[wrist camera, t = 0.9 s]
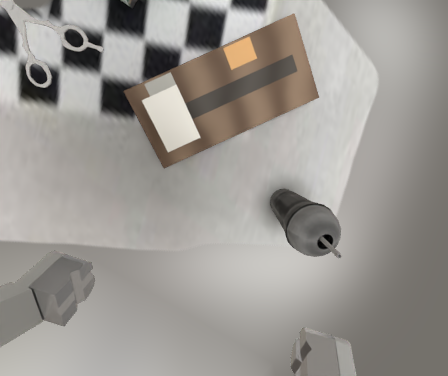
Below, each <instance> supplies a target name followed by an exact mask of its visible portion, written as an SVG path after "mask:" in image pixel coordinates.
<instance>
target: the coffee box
mask: <svg viewBox="0 0 448 376" xmlns="http://www.w3.org/2000/svg"><path fill="white" fill-rule="evenodd" d="M121 1H122V2H124V3H125V4H126V5H128V6H129V7H131V8H133V7H134V5H135V3H136V2H137V0H121Z"/></svg>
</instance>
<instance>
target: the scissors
mask: <svg viewBox="0 0 448 376" xmlns="http://www.w3.org/2000/svg"><path fill="white" fill-rule="evenodd" d="M0 5H1V6H2V7H3V8H4V9H6V11H7V12H8V14H9V16H10V17H11V19H12V20H13V22H14V23H15V25H16V26H17V28H18V30H19V32H20V33H21V35H22V38H23V44H22V46H23V48H24V49H25V50H26V52H27V53H28V61H27V64H26V72H27V76H28V78H29V80H30V81H31V82H32V83H33V84H34V85H36V86H38V87H42V88H46V87H48V86H49V85H50V84H51V81H52V75H51V72H50V69H49V67H48V66H47V64H46V63H44V62H42V61H39V60H37V59H35V57H34V55H33V54H32V53H31V51H30V50H29V46H28V42H27V36H26V25H25V21H26V22H31V23H35V24H41V25H45V26H48V27H50V28H52V29H54V30H55V31H56V32H57V33H58V34H59V35H60V37H61V40H62V44H63V46H65V47H66V48H68V49H70V50H73V51H83V50H85V49H86V48H87V47H90V48H94V49H97V50H98V51H100V52H103V51H104V49H103V47H101V46H96V45H94V44H92V43H89V42H88V38H87V36H86V34H85V33H84V32H83V31H82V30H81V29H80V28H79V27H77V26H74V25H65V26H63V27H57V26H53V25H52V24H51V23H50V22H49V21H39V20H35V19H34V18H33V17H32V16H30V15H29V14H28V13H26V12H25V11H24V10H23V9H22V8H20V7H19V6H18V5H16V4H15V3H14V1H13V0H0ZM69 29H72V30H76V31H78V32H79V33H80V34H81V35H82V37H83V39H84V43H83V45H82V46H81V47H79V48H76V47H73V46H71V45H70V44H69V43H68V42H67V41H66V39H65V32H67V31H68V30H69ZM33 64H38V65H40V66H42V68H43V69H44V71H45V72H46V74H47V78H48V79H47V81H46V82H45V83H44V84H38V83H36V82H35V81H34V79H33V78H32V77H31V72H30V67H31V66H32V65H33Z"/></svg>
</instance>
